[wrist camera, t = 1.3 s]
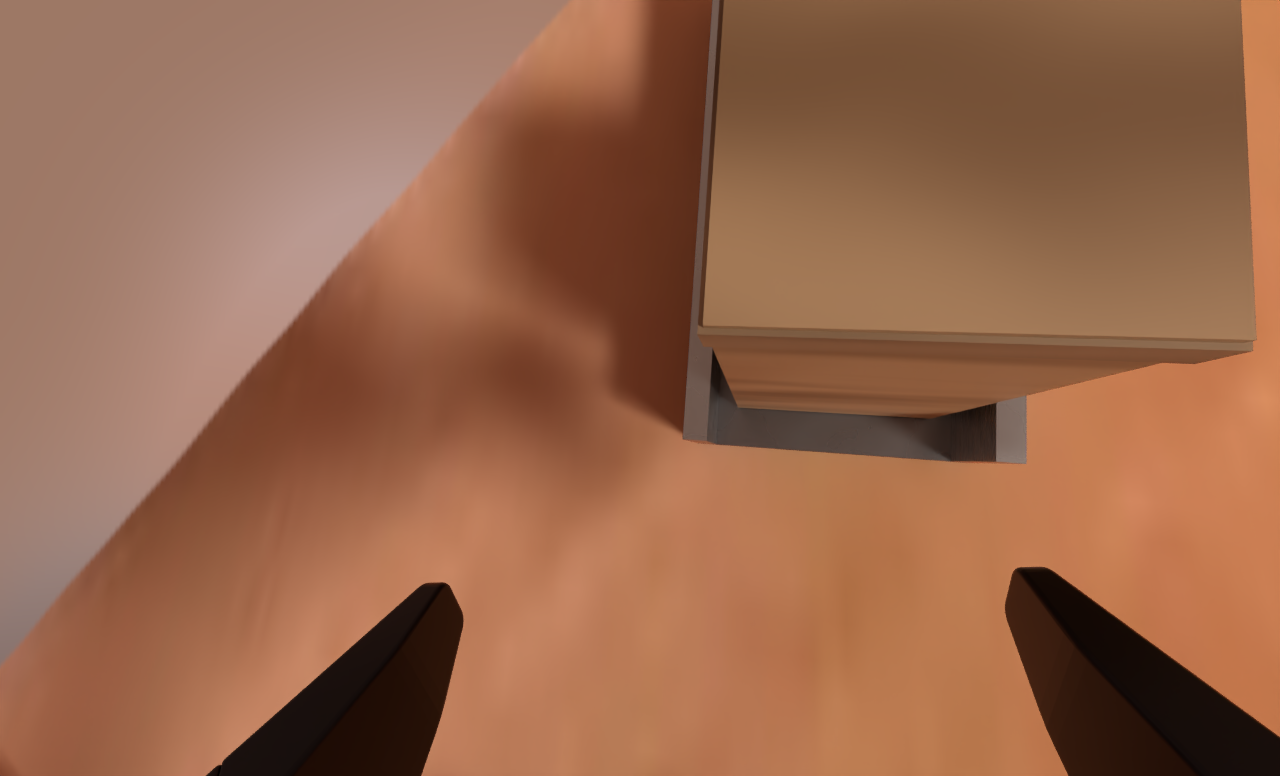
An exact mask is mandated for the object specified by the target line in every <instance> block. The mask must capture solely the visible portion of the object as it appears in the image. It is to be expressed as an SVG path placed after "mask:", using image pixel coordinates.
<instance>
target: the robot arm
mask: <svg viewBox="0 0 1280 776" xmlns="http://www.w3.org/2000/svg"><path fill="white" fill-rule="evenodd" d="M1005 613H1006V618H1007V621H1008V624H1009V627H1010V630H1011V633H1012V636H1013V638H1014V641H1015V644H1016V647H1017V649H1018V652H1019V655H1020V658H1021V661H1022V663H1023V666H1024V669H1025V672H1026V674H1027V677H1028V680H1029V683H1030V686H1031V688H1032V691H1033V694H1034V697H1035V700H1036V702H1037V705H1038V708H1039V711H1040V713H1041V716H1042V718H1043V721H1044V724H1045V726H1046V729H1047V731H1048V733H1049V735H1050V738H1051V740H1052V742H1053V744H1054V746H1055V749H1056V751H1057V753H1058V755H1059V757H1060V759H1061V761H1062V763H1063V765H1064V767H1065V769H1066V771H1067V773H1068V776H1280V737H1279V736H1278V735H1276V734H1275V733H1274V732H1272V731H1271V730H1269V729H1268V728H1267V727H1265V726H1264V725H1263V724H1261V723H1260V722H1259V721H1257V720H1256V719H1254V718H1253V717H1252V716H1250V715H1249V714H1248V713H1246V712H1245V711H1244V710H1242V709H1241V708H1239V707H1238V706H1237V705H1235V704H1234V703H1233V702H1231V701H1230V700H1228V699H1227V698H1226V697H1224V696H1223V695H1222V694H1220V693H1219V692H1218V691H1216V690H1215V689H1213V688H1212V687H1211V686H1209V685H1208V684H1207V683H1205V682H1204V681H1203V680H1201V679H1200V678H1198V677H1197V676H1196V675H1194V674H1193V673H1192V672H1190V671H1189V670H1188V669H1186V668H1185V667H1183V666H1182V665H1181V664H1179V663H1178V662H1177V661H1175V660H1174V659H1173V658H1171V657H1170V656H1168V655H1167V654H1166V653H1164V652H1163V651H1162V650H1160V649H1159V648H1158V647H1156V646H1155V645H1153V644H1152V643H1151V642H1149V641H1148V640H1147V639H1145V638H1144V637H1143V636H1141V635H1140V634H1138V633H1137V632H1136V631H1134V630H1133V629H1132V628H1130V627H1129V626H1128V625H1126V624H1125V623H1123V622H1122V621H1121V620H1119V619H1118V618H1117V617H1115V616H1114V615H1113V614H1111V613H1110V612H1108V611H1107V610H1106V609H1104V608H1103V607H1102V606H1100V605H1099V604H1098V603H1096V602H1095V601H1093V600H1092V599H1091V598H1089V597H1088V596H1087V595H1085V594H1084V593H1083V592H1081V591H1080V590H1078V589H1077V588H1076V587H1074V586H1073V585H1072V584H1070V583H1069V582H1067V581H1066V580H1065V579H1063V578H1062V577H1061V576H1059V575H1058V574H1057V573H1055V572H1054V571H1052V570H1050V569H1048V568H1045V567H1020V568H1017V569H1015V570H1014V571H1013V574H1012V577H1011V581H1010V585H1009V590H1008V594H1007V598H1006V602H1005ZM462 629H463V613H462V610H461V608H460V606H459V604H458V602H457V600H456V598H455V596H454V594H453V592H452V590H451V588H450V586H449V585H448V584H446V583H443V582H441V583H425V584H423V585H421V586H420V587H419V588H417V589H416V590H415V591H414V592H413V593H412V594H411V595H409V596H408V597H407V598H406V599H405V600H404V601H403V602H402V603H400V604H399V605H398V606H397V607H396V608H395V609H394V610H393V611H391V612H390V613H389V614H388V615H387V616H386V617H385V618H384V619H382V620H381V621H380V622H379V623H378V624H377V625H376V626H375V627H373V628H372V629H371V630H370V631H369V632H368V633H367V634H365V635H364V636H363V637H362V638H361V639H360V640H359V641H358V642H356V643H355V644H354V645H353V646H352V647H351V648H350V649H349V650H347V651H346V652H345V653H344V654H343V655H342V656H341V657H340V658H338V659H337V660H336V661H335V662H334V663H333V664H332V665H331V666H329V667H328V668H327V669H326V670H325V671H324V672H323V673H321V674H320V675H319V676H318V677H317V678H316V679H315V680H314V681H312V682H311V683H310V684H309V685H308V686H307V687H306V688H305V689H303V690H302V691H301V692H300V693H299V694H298V695H297V696H296V697H294V698H293V699H292V700H291V701H290V702H289V703H288V704H286V705H285V706H284V707H283V708H282V709H281V710H280V711H279V712H277V713H276V714H275V715H274V716H273V717H272V718H271V719H270V720H268V721H267V722H266V723H265V724H264V725H263V726H262V727H261V728H259V729H258V730H257V731H256V732H255V733H254V734H253V735H252V736H250V737H249V738H248V739H247V740H246V741H245V742H244V743H242V744H241V745H240V746H239V747H238V748H237V749H236V750H235V751H233V752H232V753H231V754H230V755H229V756H228V757H227V758H226V759H224V761H223V762H222V765H218V766H216V767H215V768H214V769H213V770H212V771H211V772H210V773H208V774H207V775H206V776H421V775H422V772H423V769H424V766H425V763H426V760H427V757H428V754H429V751H430V748H431V745H432V743H433V740H434V737H435V734H436V731H437V728H438V725H439V721H440V718H441V715H442V711H443V708H444V704H445V700H446V696H447V692H448V687H449V683H450V679H451V675H452V671H453V666H454V662H455V658H456V654H457V650H458V645H459V641H460V637H461V633H462Z"/></svg>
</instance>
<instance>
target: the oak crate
mask: <svg viewBox="0 0 1280 776" xmlns="http://www.w3.org/2000/svg"><path fill="white" fill-rule="evenodd" d="M697 335H698V337H699V339H700V341H701V343H702V345H703V347H712V348H713V350H714V353H715V355H716V357H717V360H718V362H719V364H720V367H721V369H722V371H723V373H724V376H725V378H726V380H727V383H728V385H729V387H730V390H731V392H732V394H733V397H734V399H735V401H736V404H737V406H738V408H753V409H771V410H788V411H805V412H823V413H840V414H857V415H875V416H892V417H909V418H926V419H931V418H935V417H939V416H944V415H948V414H952V413H956V412H960V411H964V410H968V409H973V408H977V407H981V406H985V405H989V404H993V403H998V402H1002V401H1006V400H1010V399H1014V398H1018V397H1022V396H1027V395H1031V394H1035V393H1039V392H1043V391H1047V390H1051V389H1056V388H1060V387H1064V386H1068V385H1072V384H1076V383H1080V382H1085V381H1089V380H1093V379H1097V378H1101V377H1105V376H1110V375H1114V374H1118V373H1122V372H1126V371H1130V370H1134V369H1139V368H1143V367H1147V366H1151V365H1155V364H1159V363H1182V364H1197V363H1201V362H1206V361H1210V360H1215V359H1219V358H1224V357H1229V356H1233V355H1238V354H1242V353H1247V352H1251V351H1253V341H1255V340H1257V336H1256V315H1255V293H1254V272H1253V250H1252V229H1251V207H1250V186H1249V164H1248V143H1247V121H1246V100H1245V78H1244V57H1243V35H1242V14H1241V0H719V14H718V29H717V44H716V59H715V74H714V89H713V104H712V119H711V134H710V149H709V164H708V179H707V194H706V209H705V225H704V240H703V255H702V270H701V285H700V300H699V315H698V330H697Z"/></svg>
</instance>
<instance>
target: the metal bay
mask: <svg viewBox="0 0 1280 776" xmlns="http://www.w3.org/2000/svg"><path fill="white" fill-rule="evenodd" d="M718 14H719V0H712V15H711V30H710V44H709V59H708V74H707V89H706V103H705V118H704V133H703V148H702V162H701V177H700V192H699V206H698V221H697V236H696V251H695V265H694V280H693V295H692V310H691V324H690V339H689V354H688V369H687V383H686V398H685V413H684V428H683V439H684V440H688V441H691V442H695V443H702V444H716V445H730V446H744V447H757V448H771V449H785V450H799V451H813V452H826V453H840V454H854V455H868V456H881V457H895V458H909V459H923V460H937V461H950V462H964V463H1007V464H1026V396H1022V397H1018V398H1014V399H1010V400H1006V401H1002V402H998V403H993V404H989V405H985V406H981V407H977V408H973V409H968V410H964V411H960V412H956V413H952V414H948V415H944V416H939V417H935V418H931V419H926V418H909V417H892V416H875V415H857V414H840V413H823V412H805V411H788V410H771V409H753V408H738V406H737V404H736V401H735V399H734V397H733V394H732V392H731V390H730V387H729V385H728V383H727V380H726V378H725V376H724V373H723V371H722V369H721V367H720V364H719V362H718V360H717V357H716V355H715V353H714V350H713V348H712V347H703V345H702V343H701V341H700V339H699V337H698V335H697V330H698V315H699V300H700V285H701V270H702V255H703V240H704V225H705V209H706V194H707V179H708V164H709V149H710V134H711V119H712V104H713V89H714V74H715V59H716V44H717V29H718Z"/></svg>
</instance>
